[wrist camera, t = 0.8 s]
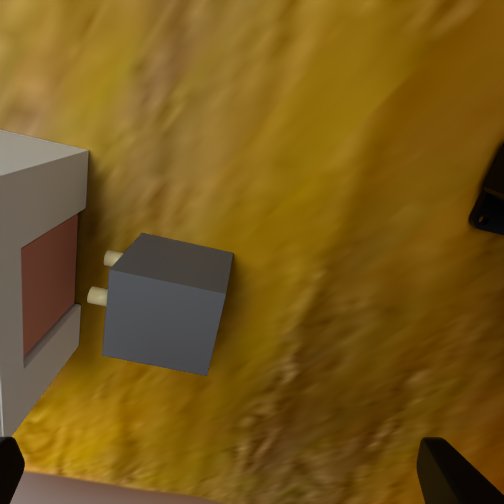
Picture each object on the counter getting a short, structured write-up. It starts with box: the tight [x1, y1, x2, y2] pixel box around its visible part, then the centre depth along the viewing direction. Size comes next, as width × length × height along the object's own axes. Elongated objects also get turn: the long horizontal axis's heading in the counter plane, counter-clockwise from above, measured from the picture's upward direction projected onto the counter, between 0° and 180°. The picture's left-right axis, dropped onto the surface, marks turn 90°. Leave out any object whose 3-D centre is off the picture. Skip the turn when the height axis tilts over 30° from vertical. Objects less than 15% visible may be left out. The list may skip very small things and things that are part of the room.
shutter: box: [21, 214, 78, 357], centre depth 17 cm, size 1×5×5 cm, turn 166°
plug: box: [87, 233, 233, 376], centre depth 18 cm, size 6×5×5 cm
